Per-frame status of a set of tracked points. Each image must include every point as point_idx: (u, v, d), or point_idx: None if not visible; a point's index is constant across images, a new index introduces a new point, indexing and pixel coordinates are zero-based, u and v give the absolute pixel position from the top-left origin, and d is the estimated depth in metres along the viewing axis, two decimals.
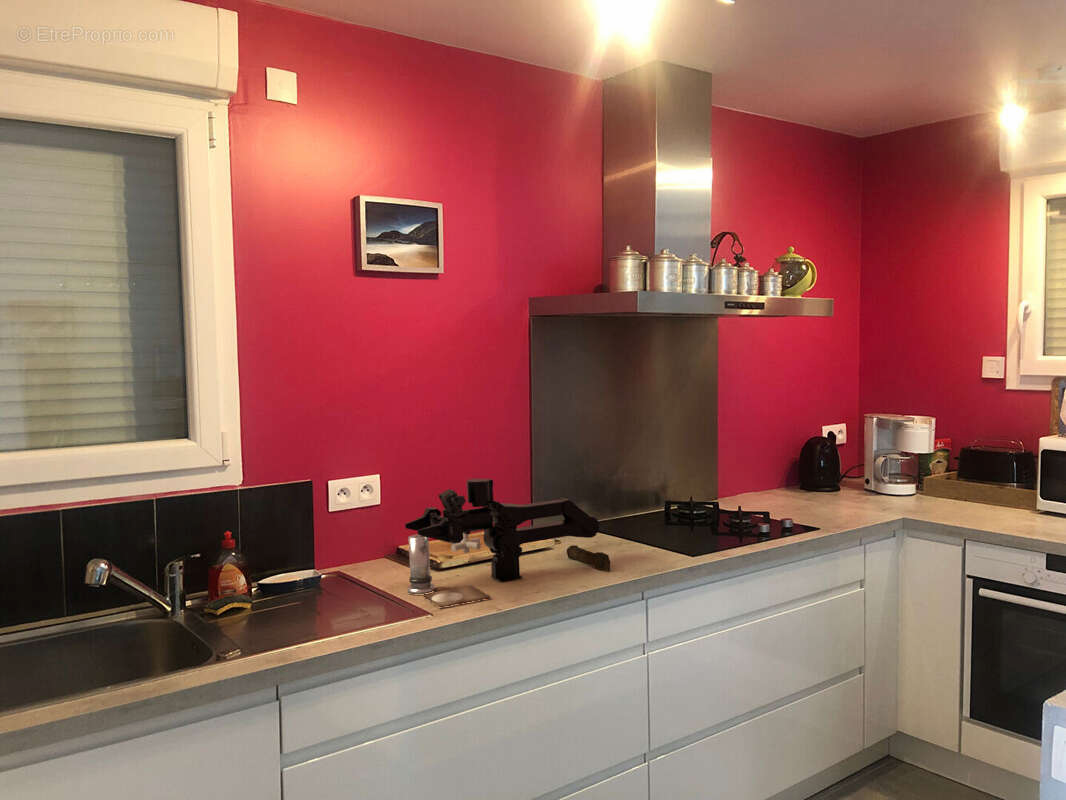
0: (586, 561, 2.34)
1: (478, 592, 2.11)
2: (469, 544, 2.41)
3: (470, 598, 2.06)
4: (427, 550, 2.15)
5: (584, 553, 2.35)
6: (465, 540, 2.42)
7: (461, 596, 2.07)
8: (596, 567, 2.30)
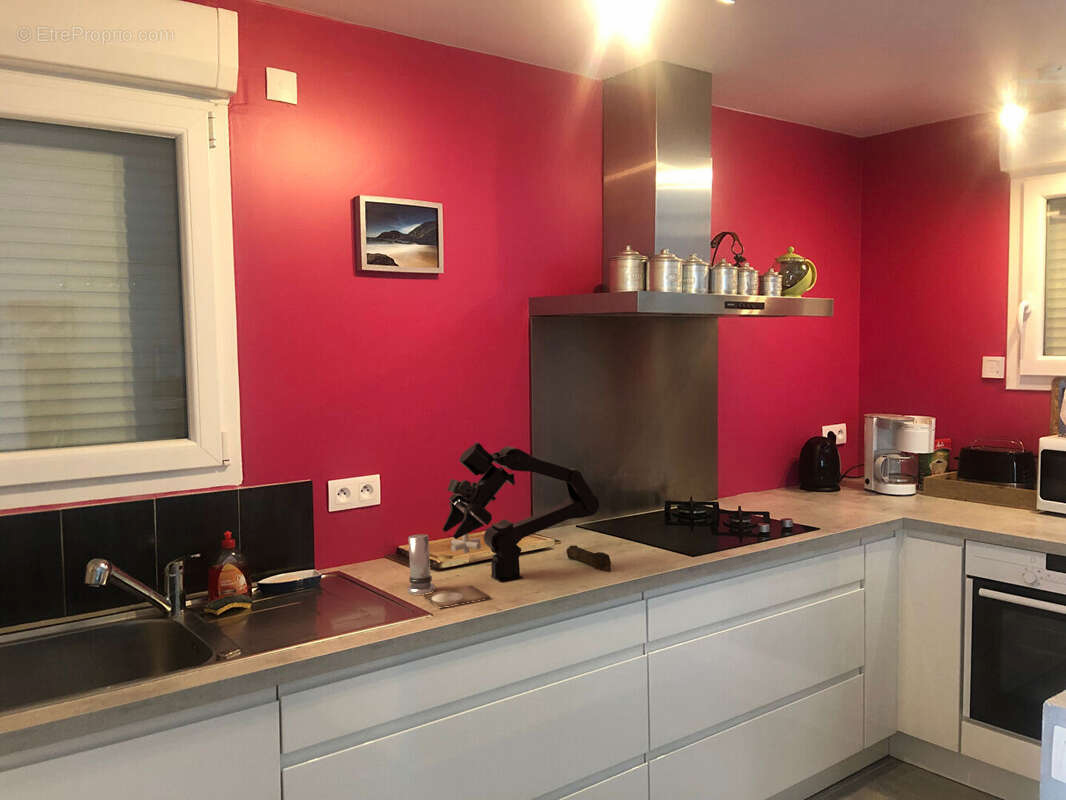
0: (586, 561, 2.34)
1: (478, 592, 2.11)
2: (469, 544, 2.41)
3: (470, 598, 2.06)
4: (427, 550, 2.15)
5: (584, 553, 2.35)
6: (465, 540, 2.42)
7: (461, 596, 2.07)
8: (596, 567, 2.30)
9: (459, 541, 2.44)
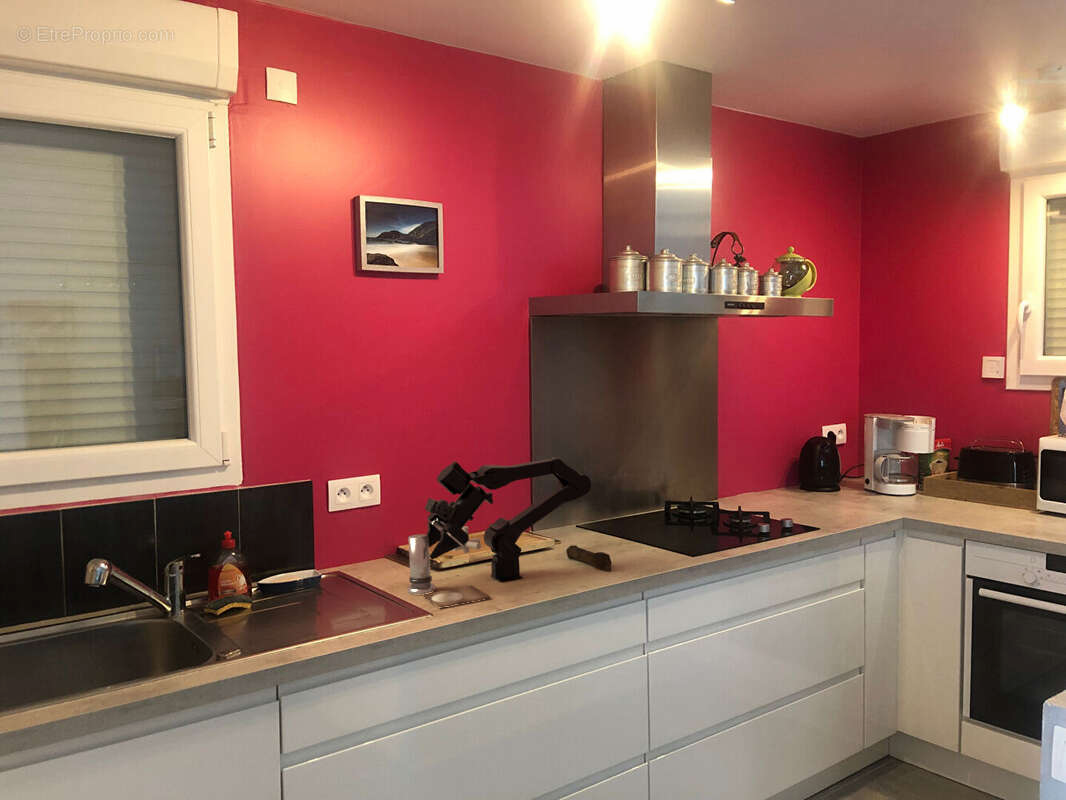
0: (587, 561, 2.34)
1: (478, 592, 2.11)
2: (469, 544, 2.41)
3: (470, 598, 2.06)
4: (427, 550, 2.15)
5: (584, 553, 2.35)
6: None
7: (461, 596, 2.07)
8: (597, 567, 2.30)
9: None
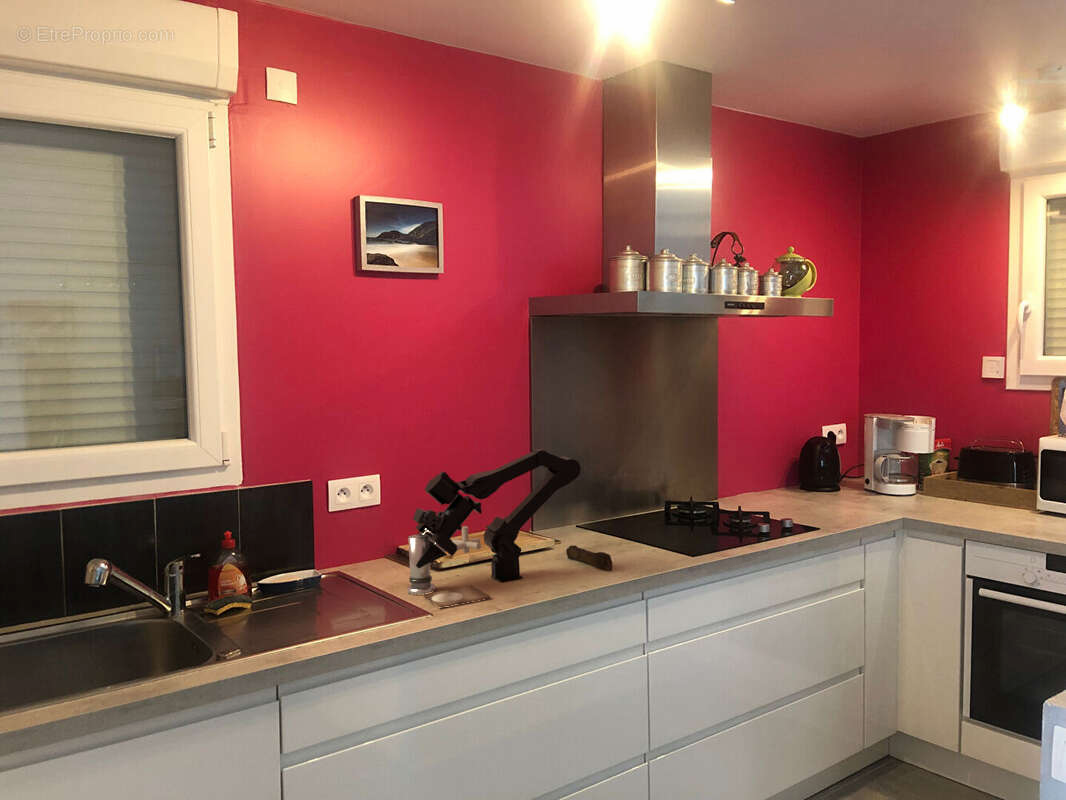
0: (587, 561, 2.34)
1: (478, 592, 2.11)
2: (469, 544, 2.41)
3: (470, 598, 2.06)
4: None
5: (585, 553, 2.35)
6: (465, 540, 2.42)
7: (461, 596, 2.07)
8: (598, 567, 2.30)
9: (459, 541, 2.44)
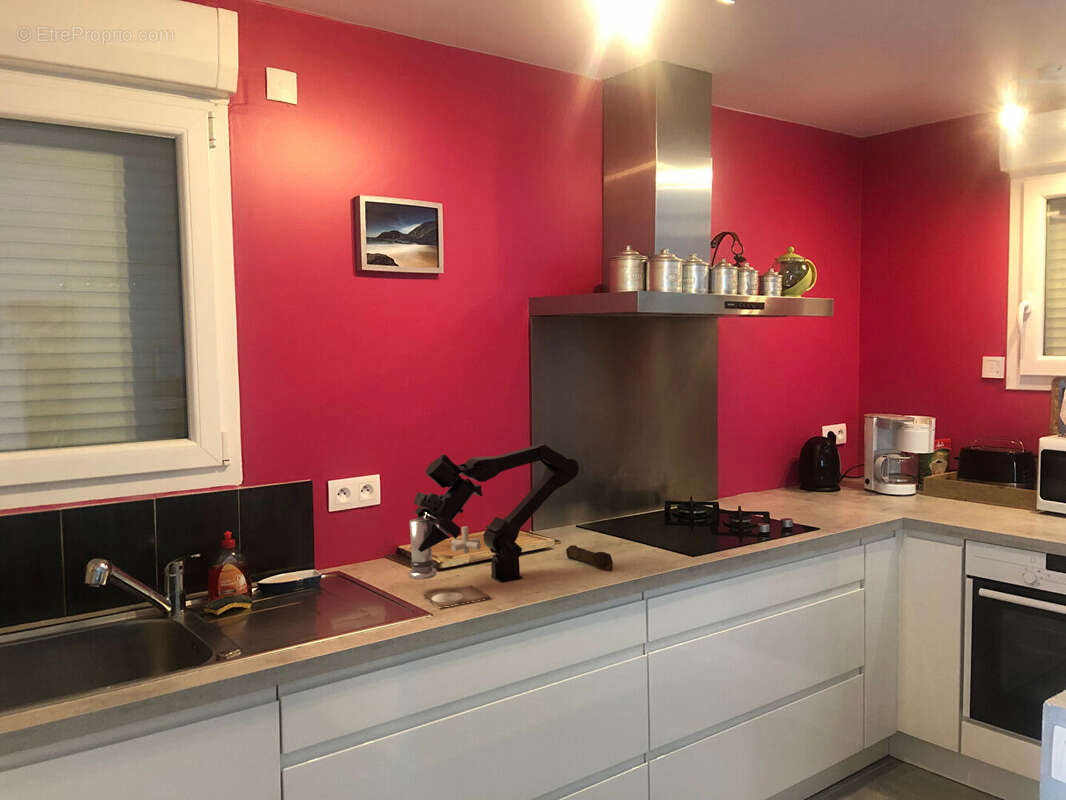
0: (587, 561, 2.34)
1: (478, 592, 2.11)
2: (469, 544, 2.41)
3: (470, 598, 2.06)
4: None
5: (585, 553, 2.35)
6: (465, 540, 2.42)
7: (461, 596, 2.07)
8: (598, 567, 2.30)
9: (459, 541, 2.44)
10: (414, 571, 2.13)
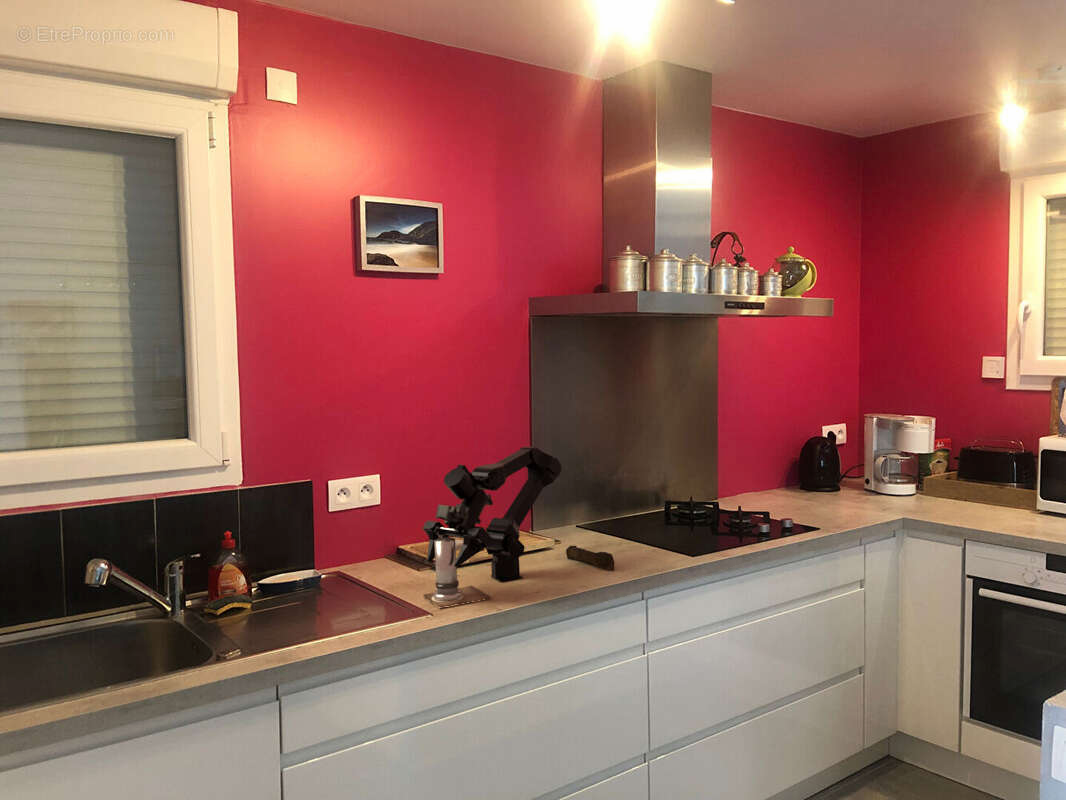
0: (588, 561, 2.34)
1: (478, 592, 2.11)
2: None
3: (470, 598, 2.06)
4: (455, 553, 2.07)
5: (585, 553, 2.35)
6: None
7: None
8: (599, 567, 2.30)
9: (459, 541, 2.44)
10: (443, 593, 2.05)
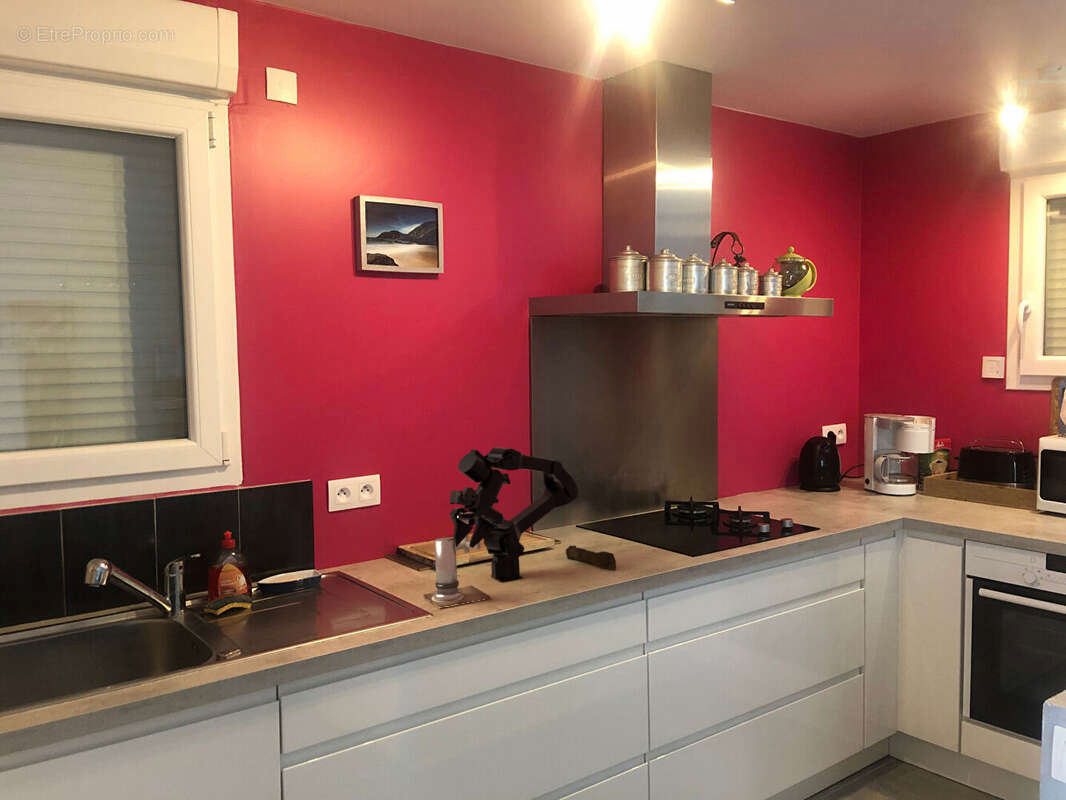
0: (589, 561, 2.34)
1: (478, 592, 2.11)
2: None
3: (470, 598, 2.06)
4: (455, 553, 2.07)
5: (586, 553, 2.35)
6: (465, 540, 2.42)
7: None
8: (601, 566, 2.30)
9: None
10: (443, 593, 2.05)
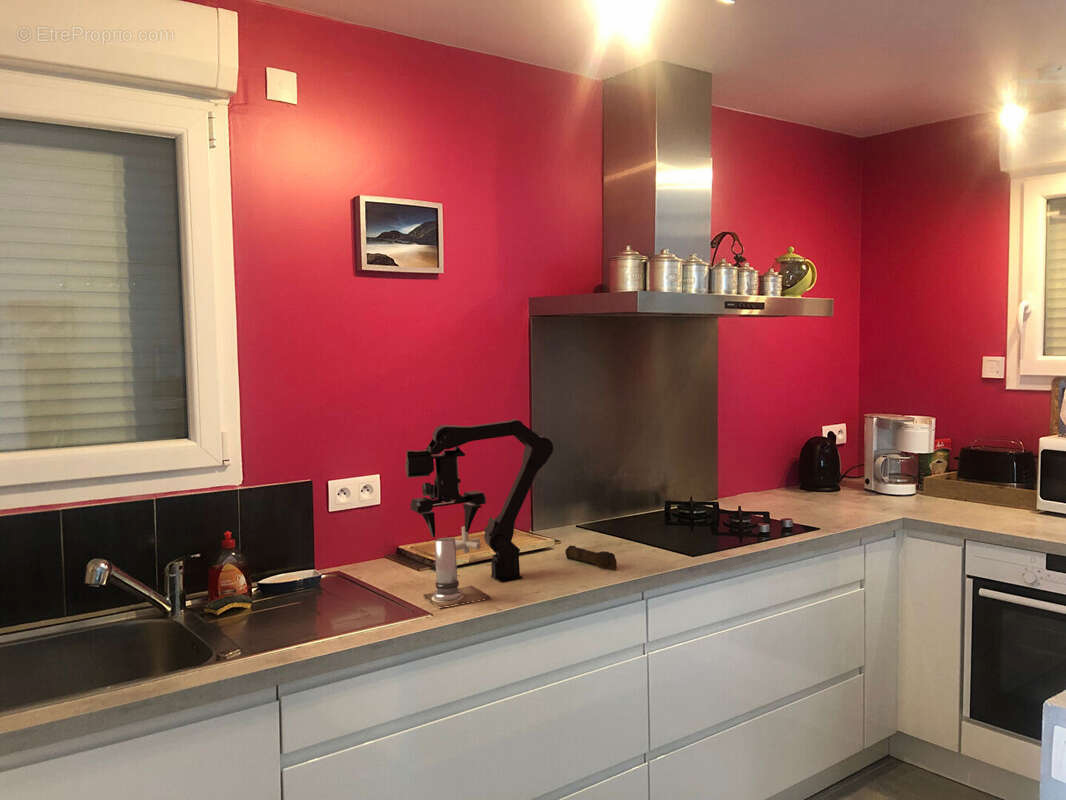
0: (589, 561, 2.34)
1: (478, 592, 2.11)
2: (469, 544, 2.41)
3: (470, 598, 2.06)
4: (455, 553, 2.07)
5: (586, 553, 2.35)
6: (465, 540, 2.42)
7: None
8: (601, 566, 2.30)
9: (459, 541, 2.44)
10: (443, 593, 2.05)
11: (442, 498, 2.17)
